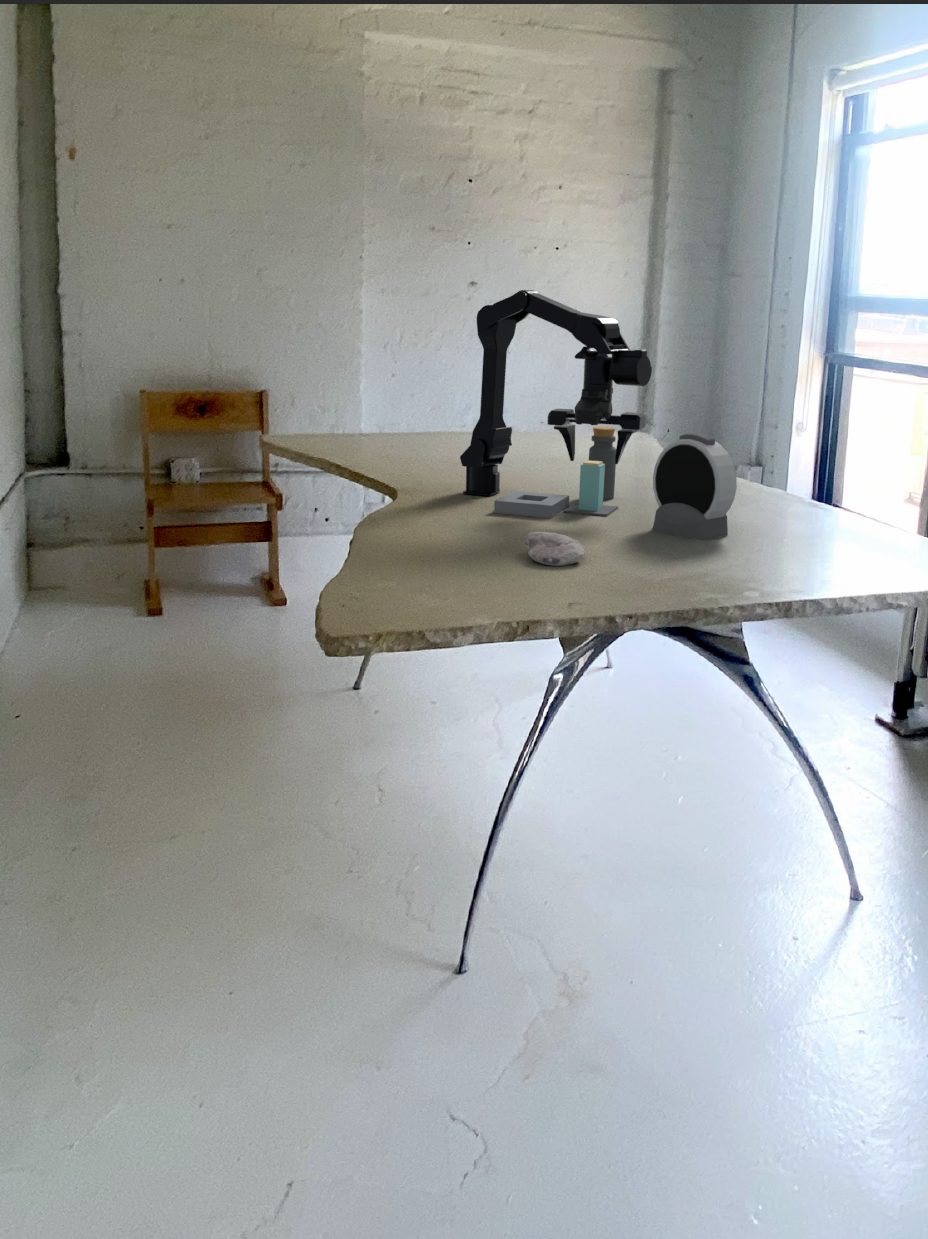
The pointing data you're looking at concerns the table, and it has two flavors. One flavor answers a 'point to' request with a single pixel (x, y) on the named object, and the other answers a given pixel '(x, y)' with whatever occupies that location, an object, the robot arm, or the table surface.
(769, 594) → the table surface
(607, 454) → the bottle
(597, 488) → the plug
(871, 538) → the table surface
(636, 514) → the table surface
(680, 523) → the alarm clock
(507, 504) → the grey square socket block
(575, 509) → the pad
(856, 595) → the table surface
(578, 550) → the fossil
